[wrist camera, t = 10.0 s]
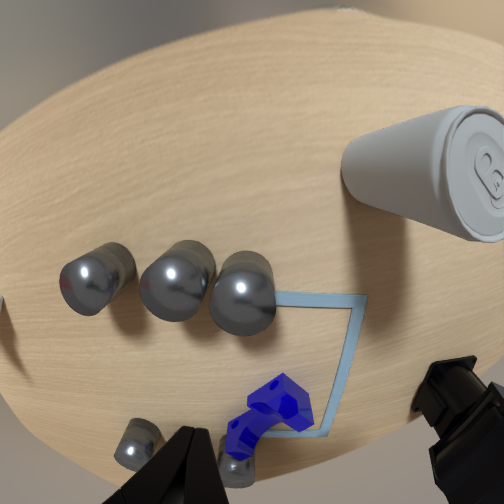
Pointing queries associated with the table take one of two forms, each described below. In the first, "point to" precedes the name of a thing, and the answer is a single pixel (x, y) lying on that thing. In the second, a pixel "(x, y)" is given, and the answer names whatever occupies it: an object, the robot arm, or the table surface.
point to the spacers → (177, 315)
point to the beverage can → (435, 171)
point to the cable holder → (268, 415)
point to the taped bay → (346, 358)
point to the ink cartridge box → (0, 300)
